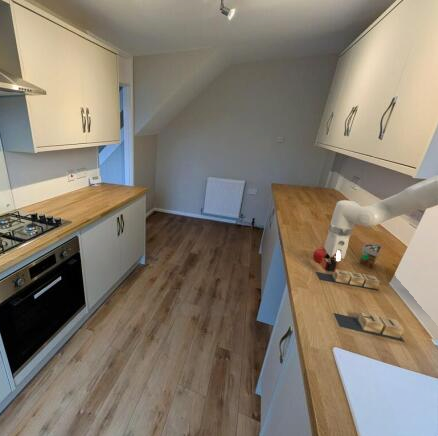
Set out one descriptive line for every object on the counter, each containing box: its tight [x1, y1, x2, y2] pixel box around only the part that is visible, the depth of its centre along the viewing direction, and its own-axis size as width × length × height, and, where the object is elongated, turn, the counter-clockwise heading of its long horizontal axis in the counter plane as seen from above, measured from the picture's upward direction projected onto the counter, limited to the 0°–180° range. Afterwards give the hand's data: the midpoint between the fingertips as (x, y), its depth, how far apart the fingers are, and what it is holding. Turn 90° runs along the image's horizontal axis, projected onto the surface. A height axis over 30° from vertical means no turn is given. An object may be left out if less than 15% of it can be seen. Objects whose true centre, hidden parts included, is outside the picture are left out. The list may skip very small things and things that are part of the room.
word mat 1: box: [315, 271, 380, 292], centre depth 104 cm, size 21×7×1 cm, turn 69°
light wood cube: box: [361, 273, 380, 289], centre depth 101 cm, size 4×4×4 cm
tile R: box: [331, 269, 350, 284], centre depth 104 cm, size 4×4×4 cm
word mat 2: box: [332, 312, 406, 343], centre depth 80 cm, size 17×7×1 cm, turn 69°
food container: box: [359, 242, 383, 270], centre depth 117 cm, size 12×6×10 cm, turn 130°
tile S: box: [320, 258, 338, 271], centre depth 104 cm, size 4×4×4 cm
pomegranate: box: [312, 245, 335, 265], centre depth 118 cm, size 10×10×9 cm
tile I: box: [378, 315, 405, 338], centre depth 77 cm, size 4×4×4 cm
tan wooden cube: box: [358, 311, 384, 333], centre depth 79 cm, size 4×4×4 cm
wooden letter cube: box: [347, 271, 365, 286], centre depth 102 cm, size 4×4×4 cm
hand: (327, 267), depth 105 cm, fingers closed on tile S, 4 cm apart
